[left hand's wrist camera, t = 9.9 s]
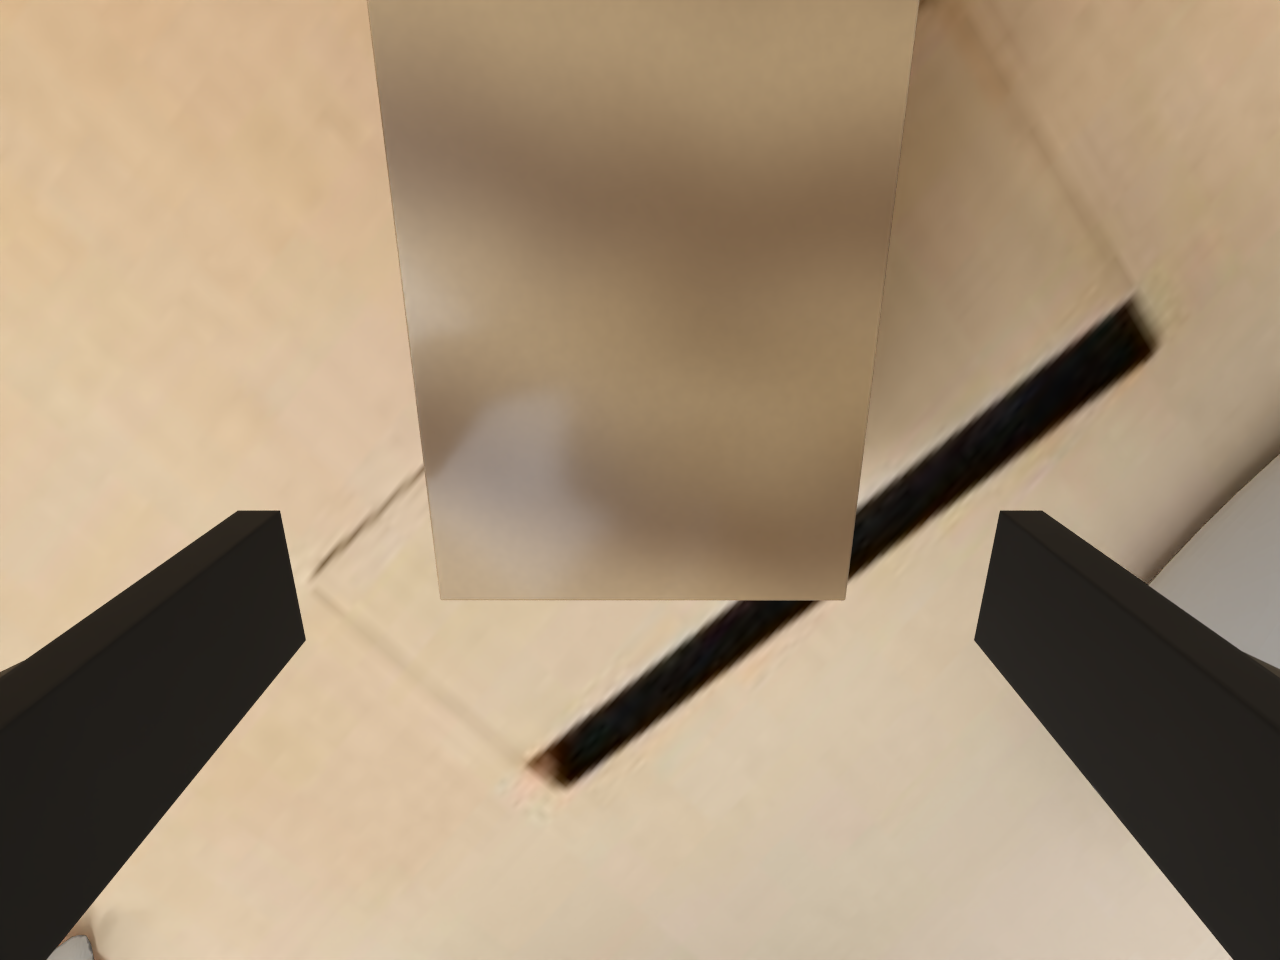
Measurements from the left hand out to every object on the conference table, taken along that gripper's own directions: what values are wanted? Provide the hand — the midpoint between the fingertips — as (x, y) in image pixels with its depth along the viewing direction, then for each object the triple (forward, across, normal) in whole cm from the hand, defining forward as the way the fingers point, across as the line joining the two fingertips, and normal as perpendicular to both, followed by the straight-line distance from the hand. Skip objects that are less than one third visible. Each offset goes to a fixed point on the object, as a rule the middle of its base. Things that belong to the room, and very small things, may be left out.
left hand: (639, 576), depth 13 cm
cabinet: (+14, 0, -7) cm, 16 cm away
